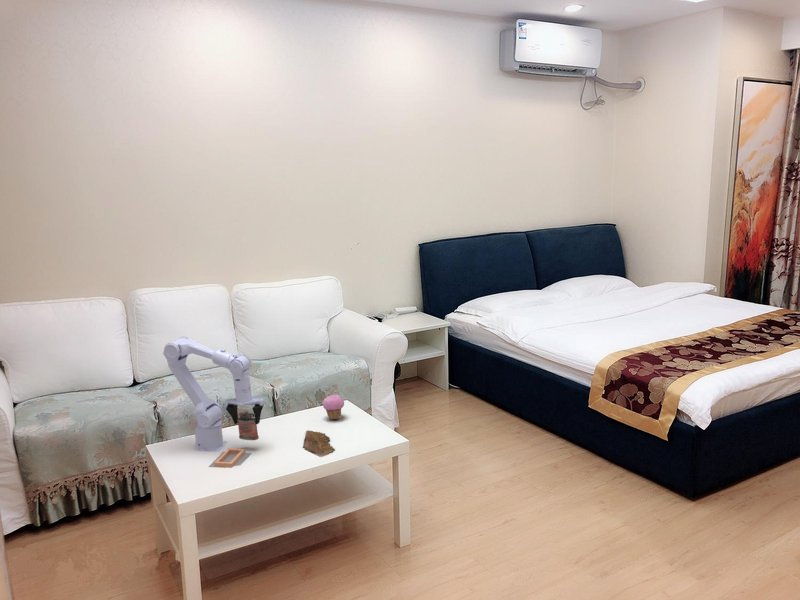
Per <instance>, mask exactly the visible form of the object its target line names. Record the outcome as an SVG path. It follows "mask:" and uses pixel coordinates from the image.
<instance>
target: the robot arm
mask: <svg viewBox="0 0 800 600" xmlns="http://www.w3.org/2000/svg"><path fill="white" fill-rule="evenodd" d="M162 354H163V356H164V357H165V359H166V360H167V365H168V369H169V370H170V371H171V373H172V375H173V376H174V377H175V378H176V381H177V382H178V384H179V385H180V387H181V388H182V389H183V390H184V392H185V393H186V395H187V396H188V398H189V400H190V402H192V404H193V405H194V407H195V408H194V412H193V414H194V416H195V418H196V423H197V425H196V428H195V430H194V439H195V446H196V448H195V451H204V452H219V451H220V450H222V449H223V448H224V447H225V446H226V444H228V441H225V440H224V438H223V437H224V435H223V428H222V418H224V416H225V411H227V412H228V414H229V415H230V417H231V419H232V421H233V424H234V425H238V422H237V419H238V418H239V414H238V412H239V411H238V407H239V406H253V407H252V408H251V409H252V411H253V414H254V418H255V423H256V424H257V425H259V424H260V422H261V414H262V411H263V408H264V405H265V399H264V398H258V397H253V396H252V395H253V394H252V388H251V381H250V372H249V371H250V370H249V369H250V367H251V359H250V358H249V356H247V355H246V354H239V355H238V353H232V352H230V351H226V349H225V348H219V349H217V350H215V349H213V348H210V347H208V346H206V345H204V344H201V343H199V342H197V341H195V340H194V339H193V338H190V337H188V336H185V335H184V336H180V337H179V338H177V339H175V340H172V341H170V342H167V343H166V344H165V346H164V348H163V353H162ZM191 354H194V355H197V356H199V357H203V358H205V359H210V360H211V361H212V363H213V364H214V365H216V366H219V367H222V368H225V369H227V370H229V372H230V373H231V375H232V379H233V386H234V393H235V398H227V399H225V400H224V403H225V404H224V405H225V410H224V409H223V407H222V406H221V405H220V404H218V403H217V402H216V400H215V399H212V398H209V397H208V396H207V394H206V393H205V391H204V390H203V388H202V386H201V385H200V384H199V382H198V381H197V379H196V378H195V376H194V375H193V373H192V372H191V370H190V369H189V367H188V366H187V364H186V362H187V359H188V356H189V355H191Z"/></svg>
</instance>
